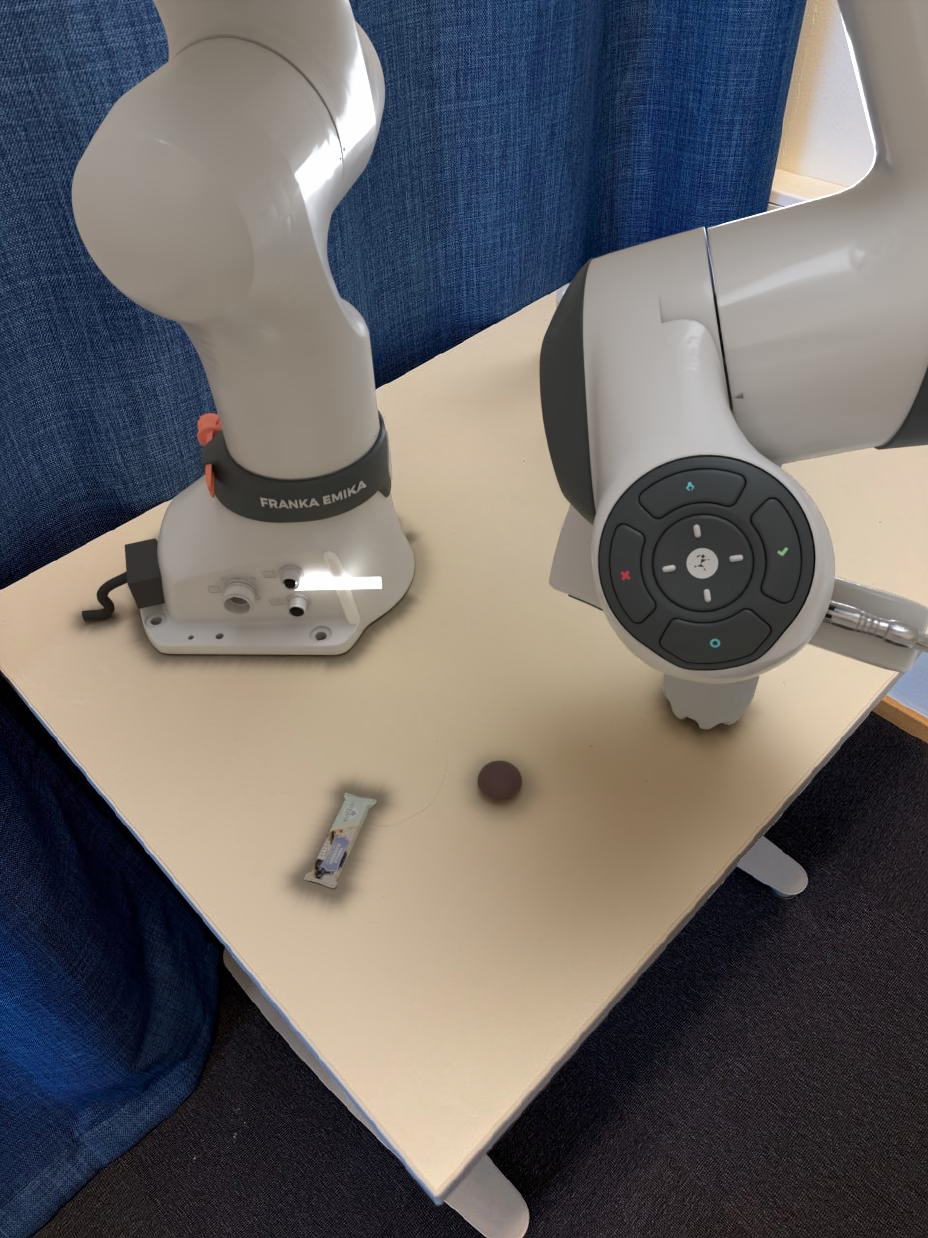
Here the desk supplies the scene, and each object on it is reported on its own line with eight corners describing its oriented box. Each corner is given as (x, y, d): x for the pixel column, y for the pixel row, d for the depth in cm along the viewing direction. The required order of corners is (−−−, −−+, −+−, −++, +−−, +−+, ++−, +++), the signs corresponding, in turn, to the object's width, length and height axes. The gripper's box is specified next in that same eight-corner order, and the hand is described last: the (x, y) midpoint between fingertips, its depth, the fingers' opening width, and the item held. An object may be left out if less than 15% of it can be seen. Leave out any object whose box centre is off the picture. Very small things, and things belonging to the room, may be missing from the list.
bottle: (636, 694, 66) (682, 480, 51) (701, 651, 69) (763, 436, 54) (704, 756, 62) (775, 546, 47) (769, 709, 65) (856, 495, 50)
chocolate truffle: (476, 805, 61) (476, 793, 59) (478, 767, 63) (478, 754, 61) (521, 806, 60) (522, 794, 59) (521, 768, 62) (522, 755, 61)
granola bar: (346, 795, 62) (345, 787, 61) (378, 804, 61) (376, 796, 60) (304, 883, 58) (301, 875, 57) (337, 893, 57) (334, 886, 56)
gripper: (977, 584, 41) (928, 591, 54) (557, 461, 47) (604, 494, 60) (927, 715, 41) (890, 690, 54) (519, 577, 48) (574, 584, 61)
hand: (738, 587), depth 57 cm, fingers closed on bottle, 6 cm apart
